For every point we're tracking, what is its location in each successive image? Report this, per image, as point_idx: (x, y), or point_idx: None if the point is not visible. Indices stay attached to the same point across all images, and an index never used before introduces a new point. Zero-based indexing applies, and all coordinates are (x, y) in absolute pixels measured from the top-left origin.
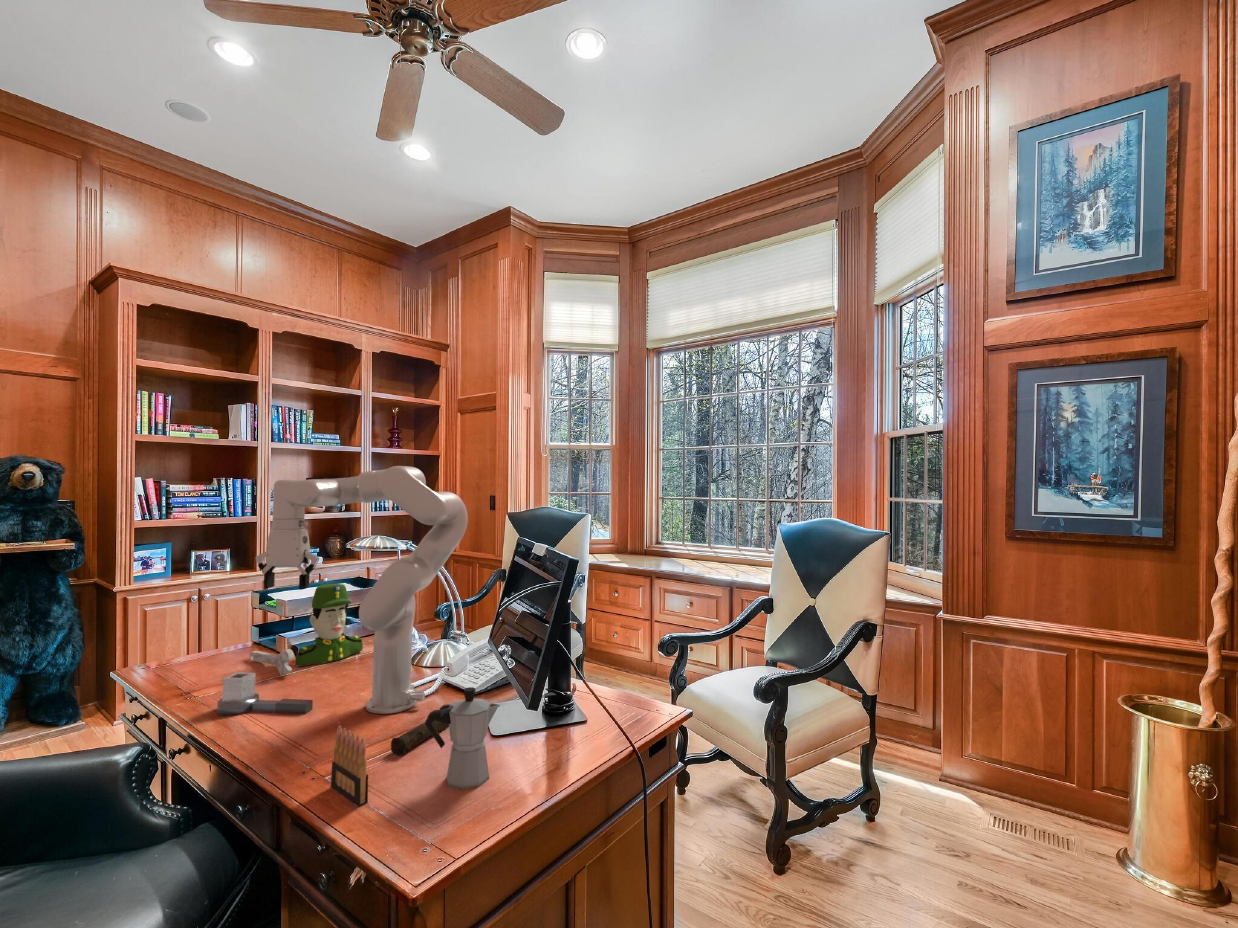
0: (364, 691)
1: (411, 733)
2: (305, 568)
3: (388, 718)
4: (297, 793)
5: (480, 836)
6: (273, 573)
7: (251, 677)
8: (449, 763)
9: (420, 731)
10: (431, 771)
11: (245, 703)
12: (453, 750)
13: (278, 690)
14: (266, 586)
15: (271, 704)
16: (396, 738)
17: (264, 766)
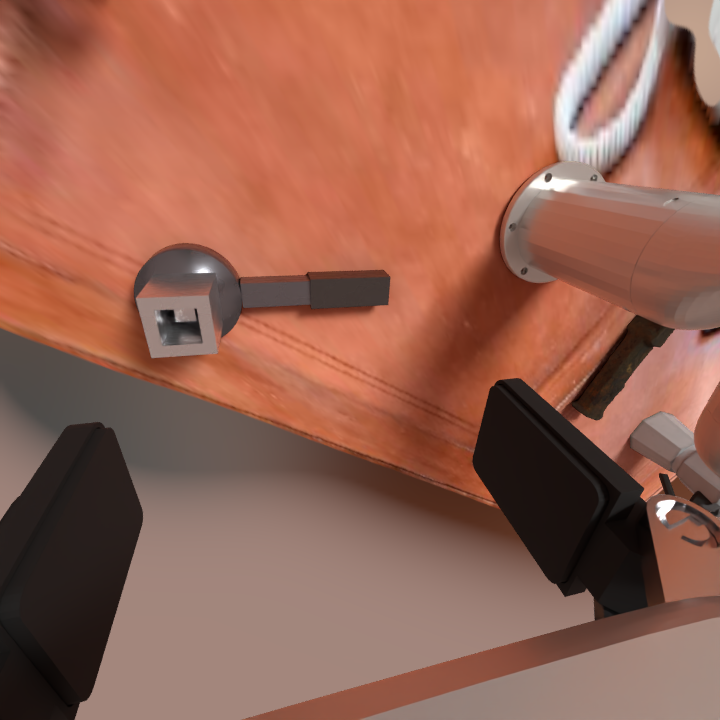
0: (467, 127)
1: (611, 400)
2: (670, 592)
3: (552, 294)
4: (484, 492)
5: (645, 496)
6: (32, 613)
7: (212, 310)
8: (648, 450)
9: (622, 388)
10: (615, 428)
11: (235, 322)
12: (668, 470)
13: (191, 133)
14: (133, 535)
15: (297, 304)
16: (592, 418)
17: (418, 462)
